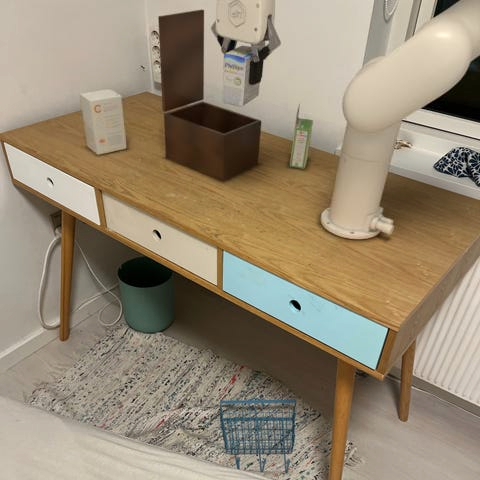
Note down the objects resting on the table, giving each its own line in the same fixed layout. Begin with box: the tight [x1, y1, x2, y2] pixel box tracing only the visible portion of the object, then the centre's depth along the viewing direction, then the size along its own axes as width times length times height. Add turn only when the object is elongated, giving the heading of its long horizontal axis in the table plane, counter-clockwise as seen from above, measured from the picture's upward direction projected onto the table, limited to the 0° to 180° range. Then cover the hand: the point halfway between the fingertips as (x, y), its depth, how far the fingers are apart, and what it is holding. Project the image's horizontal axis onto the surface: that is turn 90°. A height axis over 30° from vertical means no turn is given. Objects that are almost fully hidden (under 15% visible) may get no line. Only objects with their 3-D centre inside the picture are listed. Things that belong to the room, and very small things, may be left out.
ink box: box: [289, 103, 314, 170], centre depth 123 cm, size 7×4×13 cm, turn 168°
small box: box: [79, 88, 127, 156], centre depth 124 cm, size 8×6×13 cm
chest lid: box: [157, 9, 205, 113], centre depth 116 cm, size 19×14×1 cm
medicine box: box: [221, 45, 261, 108], centre depth 95 cm, size 8×4×9 cm, turn 156°
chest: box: [163, 100, 262, 182], centre depth 122 cm, size 19×14×11 cm
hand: (242, 78), depth 95 cm, fingers closed on medicine box, 5 cm apart
